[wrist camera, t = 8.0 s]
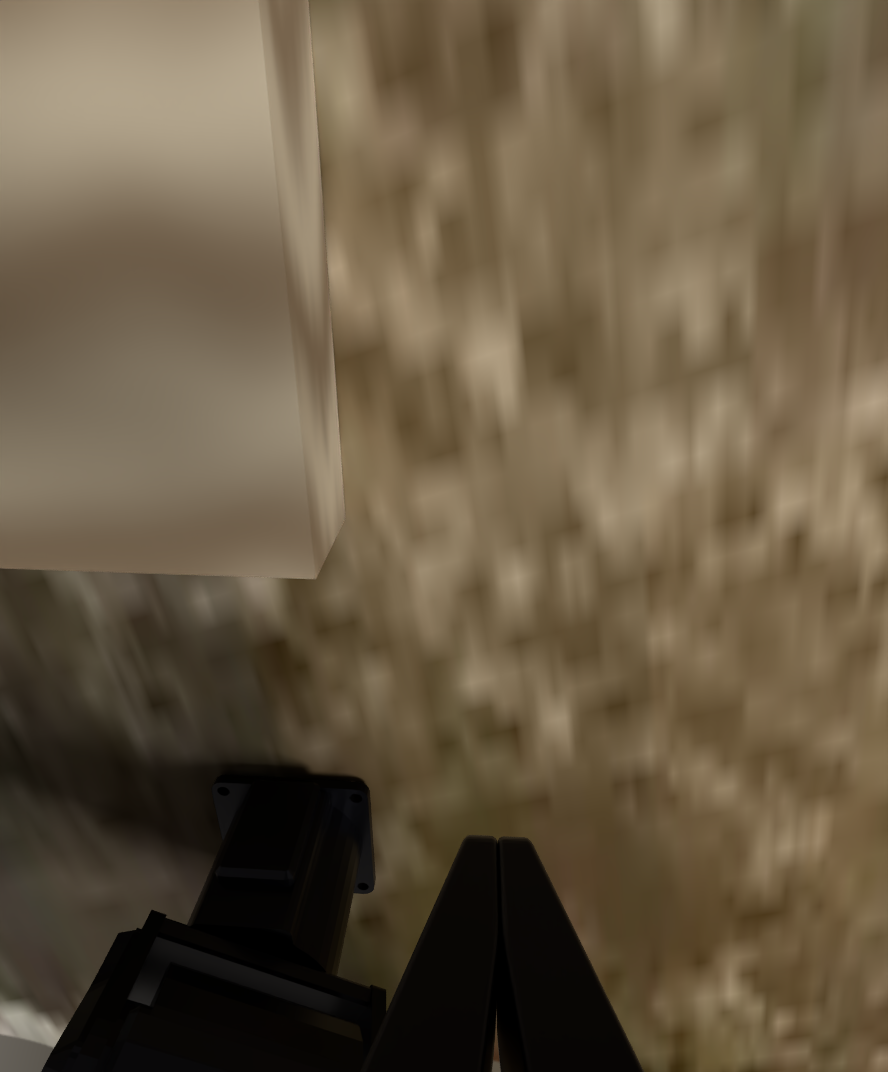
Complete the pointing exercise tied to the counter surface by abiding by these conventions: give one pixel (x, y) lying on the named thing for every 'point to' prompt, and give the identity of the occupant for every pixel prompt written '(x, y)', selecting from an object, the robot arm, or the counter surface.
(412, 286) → the counter surface
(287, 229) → the board
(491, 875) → the robot arm
